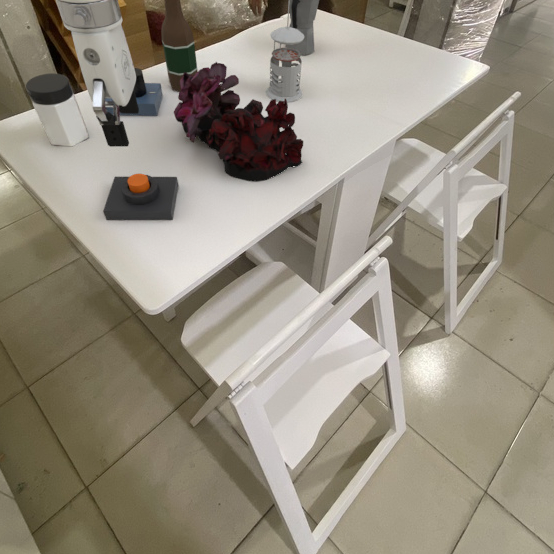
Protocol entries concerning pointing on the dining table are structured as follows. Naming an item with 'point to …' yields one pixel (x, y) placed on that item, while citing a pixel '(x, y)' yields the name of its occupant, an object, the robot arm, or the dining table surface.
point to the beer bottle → (177, 44)
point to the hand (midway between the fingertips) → (124, 128)
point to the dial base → (146, 101)
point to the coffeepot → (303, 23)
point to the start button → (138, 183)
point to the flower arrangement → (237, 126)
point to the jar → (57, 109)
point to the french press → (285, 65)
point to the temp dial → (139, 84)
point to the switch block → (142, 200)
